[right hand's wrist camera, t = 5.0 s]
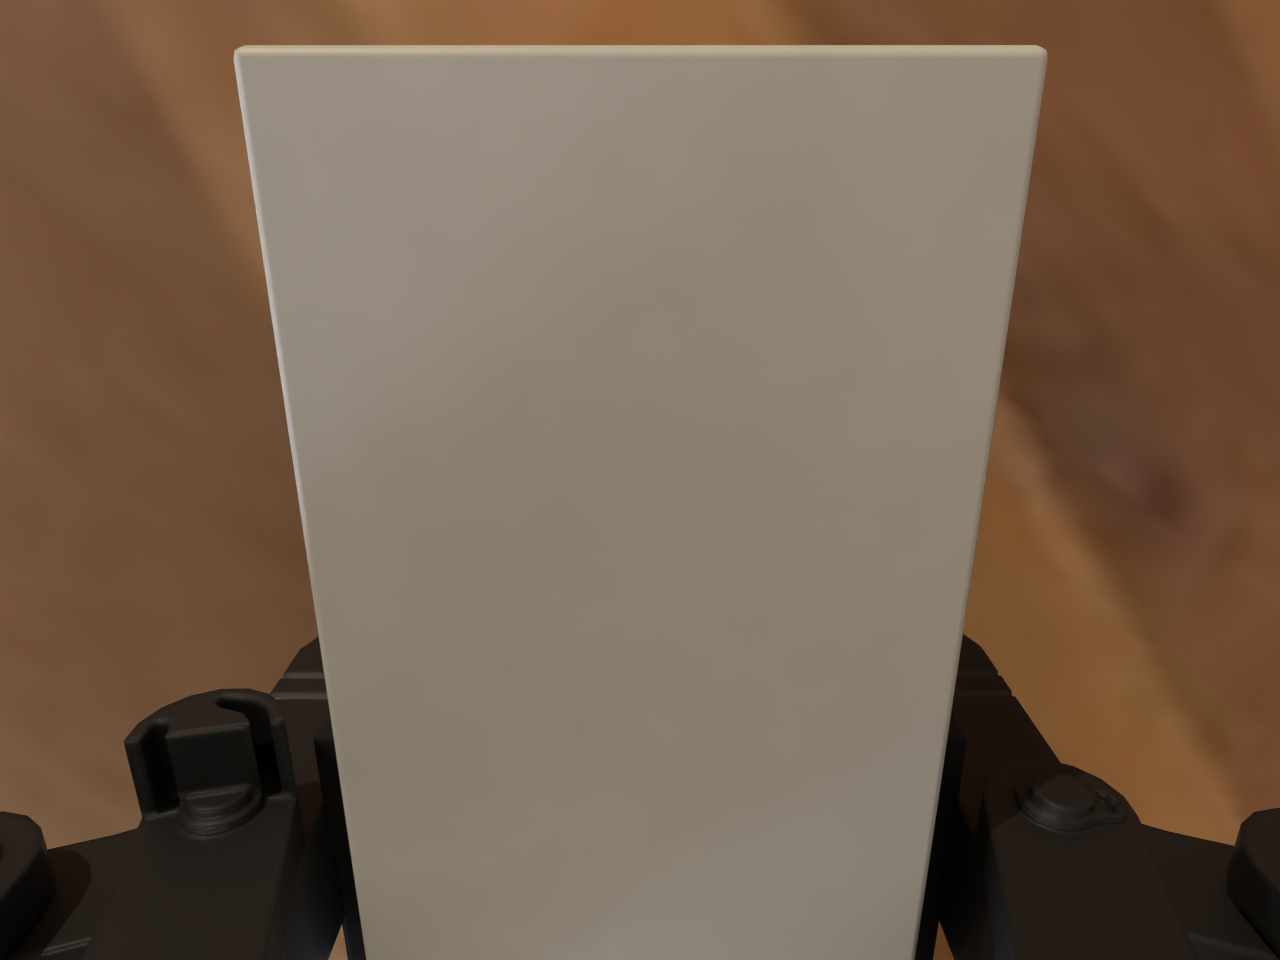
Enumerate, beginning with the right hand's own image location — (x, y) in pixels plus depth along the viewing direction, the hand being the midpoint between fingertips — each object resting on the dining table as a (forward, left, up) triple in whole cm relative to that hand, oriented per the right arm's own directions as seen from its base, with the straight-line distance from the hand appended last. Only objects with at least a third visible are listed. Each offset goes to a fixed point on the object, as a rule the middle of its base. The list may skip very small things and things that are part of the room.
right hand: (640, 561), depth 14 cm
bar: (-7, -22, -1) cm, 23 cm away
